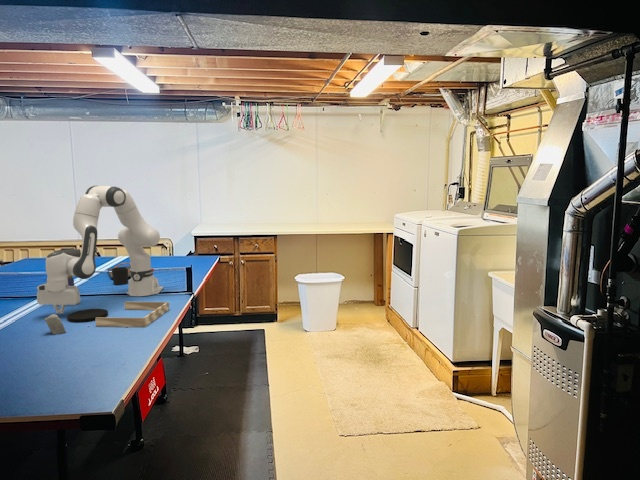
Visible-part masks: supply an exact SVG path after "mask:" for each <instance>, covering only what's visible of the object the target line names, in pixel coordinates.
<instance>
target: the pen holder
mask: <svg viewBox="0 0 640 480" xmlns="http://www.w3.org/2000/svg"><path fill="white" fill-rule="evenodd" d="M118 267H119V268H114V267H112V268H113V269H112V275H113V278H112V282H113V285H115V286H125V285H127V284H128V285H129V277H128V269H127V268H125V266H118Z"/></svg>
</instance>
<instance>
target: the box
mask: <svg viewBox="0 0 640 480" xmlns="http://www.w3.org/2000/svg"><path fill="white" fill-rule="evenodd" d="M124 310H127V311H151V312H150V313H148V314H147V315H145V316H144V317H116V316H115V317H110V316H109V317H108V316H107V317H96V318H95V321H94V322H95V327H105V328H106V327H107V328H108V327H110V328H111V327H112V328H113V327H115V328H116V327H117V328H122V327H123V328H146V327H147V326H148V325H150V324H151V323H153V322H154V321H155V320H157V319H158V318H159V317H161V316H162V315H164V314H165V313H166V312H168V311H169V310H170V302H169V301H124Z"/></svg>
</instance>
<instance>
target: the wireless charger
mask: <svg viewBox="0 0 640 480" xmlns="http://www.w3.org/2000/svg"><path fill="white" fill-rule="evenodd" d="M108 316H109V311H108V310H107V309H104V308H87V309H80V310H76V311H74V312H71V313H69V314H67V315H66V319H67V322H69V323H75V324H77V323H78V324H81V323H90V322H91V323H92V322H95V318H96V317H108Z"/></svg>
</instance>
